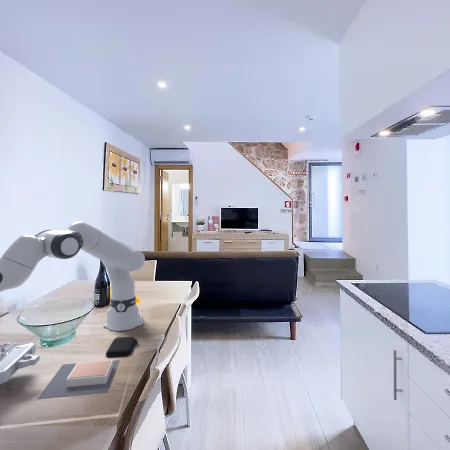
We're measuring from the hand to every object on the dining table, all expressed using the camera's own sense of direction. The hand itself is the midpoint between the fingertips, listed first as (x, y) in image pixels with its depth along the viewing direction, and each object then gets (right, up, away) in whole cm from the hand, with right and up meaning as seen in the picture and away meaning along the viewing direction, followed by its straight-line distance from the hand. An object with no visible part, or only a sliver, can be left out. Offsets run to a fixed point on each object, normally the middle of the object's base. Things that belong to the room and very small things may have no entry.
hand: (37, 360), depth 95 cm
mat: (+14, -8, +3) cm, 16 cm away
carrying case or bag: (+20, -7, +24) cm, 32 cm away
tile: (+10, -6, +2) cm, 12 cm away
